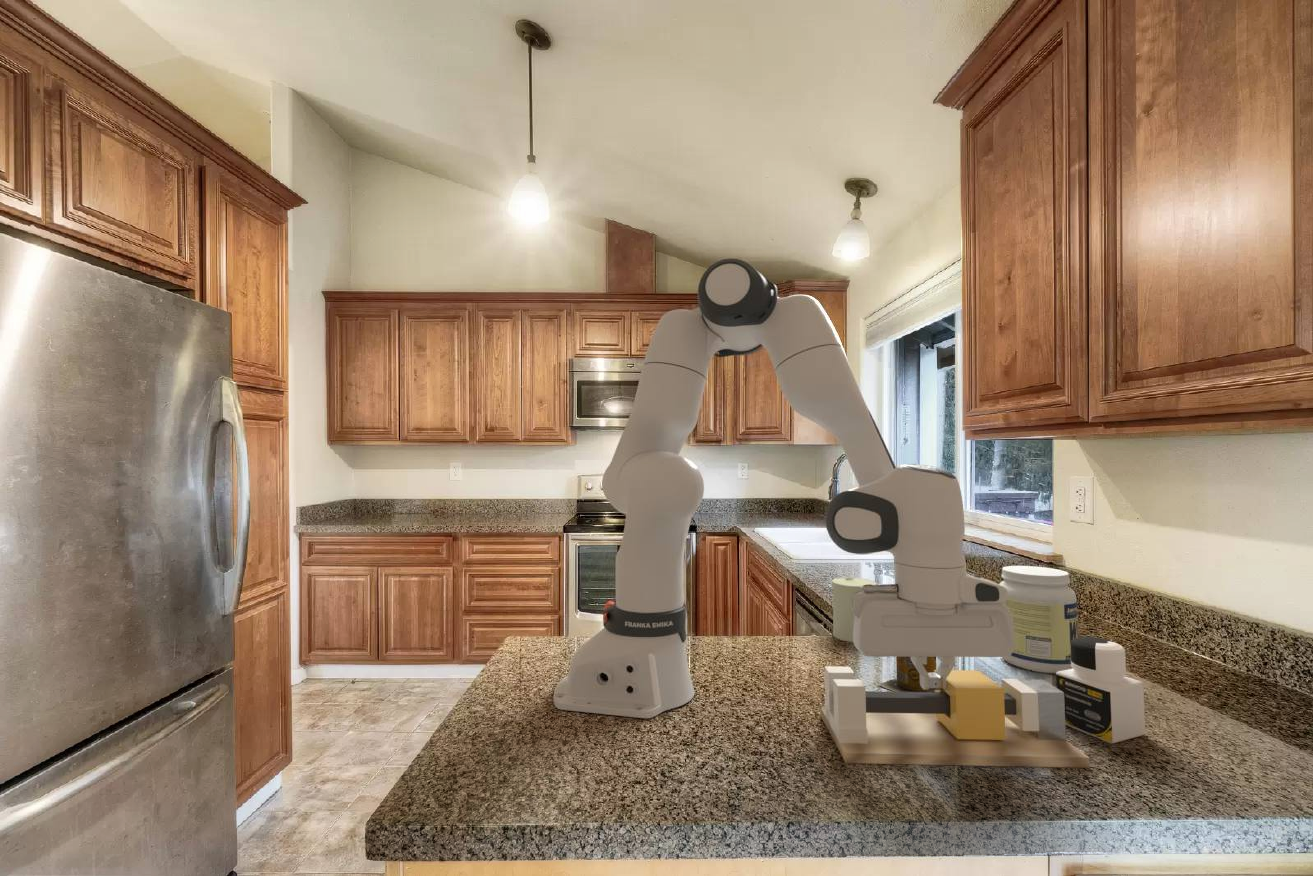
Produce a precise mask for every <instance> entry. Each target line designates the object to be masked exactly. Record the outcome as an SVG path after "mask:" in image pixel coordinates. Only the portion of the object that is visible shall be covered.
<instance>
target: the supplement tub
mask: <svg viewBox="0 0 1313 876" xmlns="http://www.w3.org/2000/svg"><path fill="white" fill-rule="evenodd" d="M1001 572H1002V573H1001V578H1002V579H1003V580H1002V581H1001V582H999V583H998V584H999V585H1001V586H1003V587H1005V588H1006V590H1007V600H1006V601H1005V602H1003V604H1004V605H1006V606H1007V607H1008V608H1009V610H1010V612H1011V615H1012V619H1013V624H1014V631H1015V650H1014V651H1013V653H1012V654H1011V655H1010V656H1009V657H1001V658H1002V659H1003V660H1004V661H1005V662H1007V663H1009V664H1011V665H1013V666H1015V667H1018V668H1021V669H1024V670H1027V671H1031V670H1032V672H1036V673H1037V672H1038V673H1043V674H1056V673H1057V672H1058V671H1063V670H1068V669H1073V667H1072V666H1071V645H1070V642H1071V641H1072V640H1073V639H1075V638H1079V627H1078V626H1079V625H1078V607H1077V606H1078V605H1077V600H1078V599H1077V594H1076V592H1075V591H1074V590H1073V589H1072V588H1071V587H1070V586H1069V584H1071V579H1070V573H1069V572H1068V571H1065V570H1061V569H1057V568H1051V567H1044V566H1035V565H1034V566H1031V565H1008V566H1007V565H1006V566H1003V567H1002V569H1001Z"/></svg>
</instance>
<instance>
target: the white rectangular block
mask: <svg viewBox="0 0 1313 876" xmlns="http://www.w3.org/2000/svg"><path fill="white" fill-rule="evenodd" d="M1000 681H1001V683H1000V684H1001V685H1000V686H1001V687H1002V688H1004V693H1008V694H1009V695H1011V696H1012V697H1013V698H1015V699H1016V715H1005V717H1006V718H1008V719H1009V720H1010V721H1011V722H1013V723H1014V724H1015V725H1016V726H1018V727H1019V728H1020V729H1021V730H1023V731H1039V715H1038V693H1037V692H1036V691H1034V690H1032V689H1031V688H1029V687H1028V686H1026V685H1025V684H1023V683H1022V682H1020V681H1019V680H1017V678H1001V679H1000Z"/></svg>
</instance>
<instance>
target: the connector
mask: <svg viewBox="0 0 1313 876" xmlns="http://www.w3.org/2000/svg"><path fill="white" fill-rule="evenodd" d="M1016 679H1017V678H1016ZM1017 680H1019V681H1020V682H1022V683H1023V684H1025V685H1026V686H1028V687H1029V688H1031V689H1032V690H1034V691H1036V692H1037V693H1038V715H1039V731H1028V732H1029V733H1031V734H1032V735H1033V736H1034V737H1036V738H1037V739H1038V740H1066V741H1067V736H1066V735H1067V734H1066V732H1067V729H1066V728H1067V727H1066V725H1065V703H1064V692H1062V691H1061V690H1059V689H1057V686H1054V685H1052V684H1051V683H1049V682H1048V681H1046V680H1044V679H1023V678H1022V679H1017Z"/></svg>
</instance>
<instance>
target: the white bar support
mask: <svg viewBox="0 0 1313 876" xmlns="http://www.w3.org/2000/svg"><path fill="white" fill-rule="evenodd" d="M855 677H856V676H855V671H854V670H853V669H852V668H851V666H829V665H828V666H826V665H825V666H824V695H825V696H824V697H825V698H824V701H825V702H824V708H825V717H826V718H827V720H828V722H829V724H830V726H831V728H832V729H833V731H834V733H835V735H836V737H837V739H838V741H839V742H840V743H860V744H868V733H867V728H866V686H865V684H864V683H863V682H862V680H861V679H858V678H855ZM833 697H834V706H833Z"/></svg>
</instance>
